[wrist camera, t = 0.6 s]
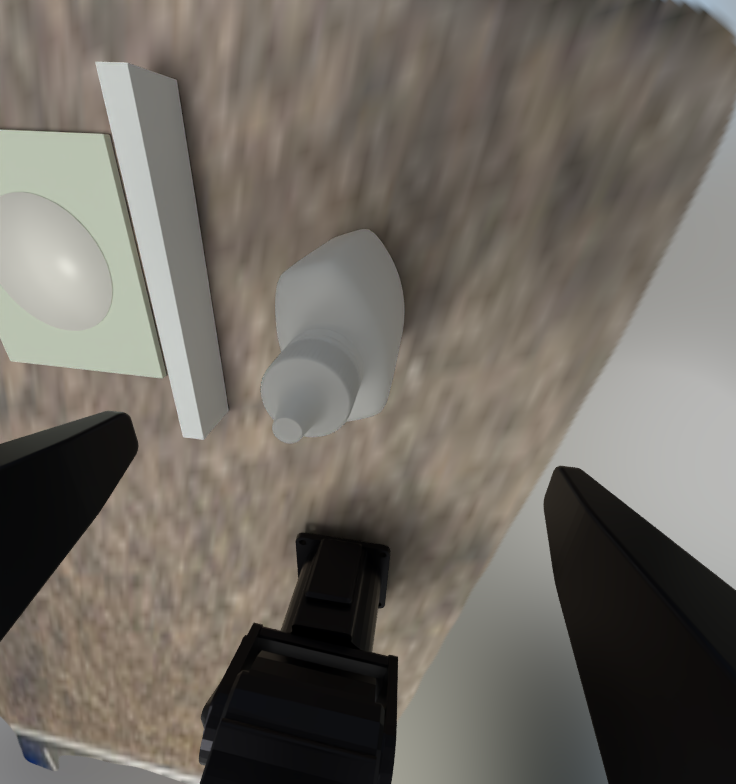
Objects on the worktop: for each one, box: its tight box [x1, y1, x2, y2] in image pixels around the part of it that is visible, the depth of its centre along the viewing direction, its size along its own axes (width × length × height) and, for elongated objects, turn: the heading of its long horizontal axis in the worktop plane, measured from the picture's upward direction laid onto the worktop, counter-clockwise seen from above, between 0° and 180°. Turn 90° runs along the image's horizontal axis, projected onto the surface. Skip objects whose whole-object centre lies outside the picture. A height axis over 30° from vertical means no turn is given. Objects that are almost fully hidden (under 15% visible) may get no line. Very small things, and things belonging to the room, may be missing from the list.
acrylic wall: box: [95, 62, 229, 440], centre depth 19 cm, size 16×1×3 cm, turn 178°
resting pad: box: [0, 130, 167, 378], centre depth 21 cm, size 12×10×1 cm
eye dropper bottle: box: [260, 229, 405, 443], centre depth 14 cm, size 4×6×12 cm
